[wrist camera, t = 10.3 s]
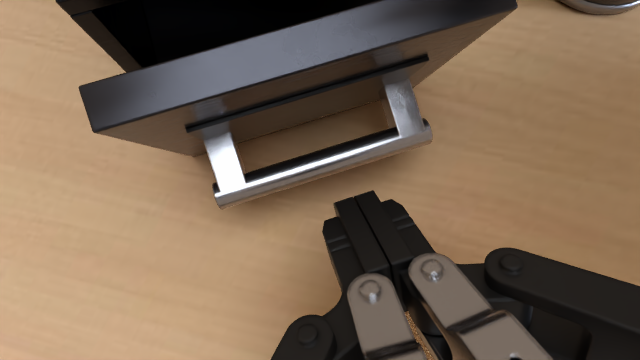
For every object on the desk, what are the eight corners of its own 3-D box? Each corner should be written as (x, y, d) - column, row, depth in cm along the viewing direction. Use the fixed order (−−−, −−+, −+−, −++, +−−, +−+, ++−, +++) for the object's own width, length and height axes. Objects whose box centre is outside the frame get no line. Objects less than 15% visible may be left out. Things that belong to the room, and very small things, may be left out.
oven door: (425, 143, 26) (549, 109, 14) (210, 211, 25) (127, 242, 12) (402, 68, 26) (505, -37, 13) (185, 133, 25) (76, 85, 12)
